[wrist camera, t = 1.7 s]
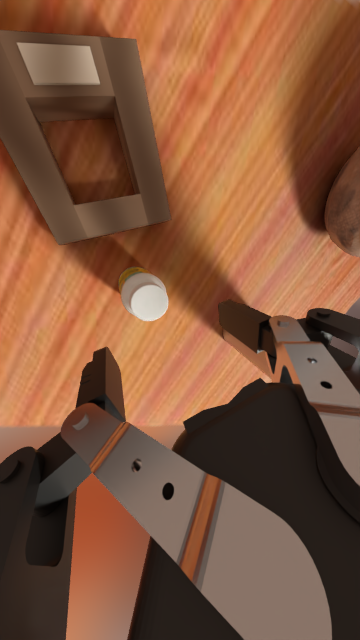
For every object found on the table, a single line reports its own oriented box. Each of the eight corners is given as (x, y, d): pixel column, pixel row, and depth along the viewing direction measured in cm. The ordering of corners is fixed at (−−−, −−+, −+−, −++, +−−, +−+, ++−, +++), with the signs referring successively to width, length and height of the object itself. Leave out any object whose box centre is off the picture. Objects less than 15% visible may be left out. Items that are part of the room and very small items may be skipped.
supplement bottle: (139, 307, 26) (153, 335, 18) (110, 286, 23) (110, 310, 15) (160, 281, 26) (183, 299, 18) (133, 257, 23) (146, 265, 15)
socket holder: (131, 71, 16) (136, 36, 13) (164, 222, 22) (171, 219, 20) (-27, 68, 13) (-64, 22, 10) (65, 244, 19) (58, 244, 16)
